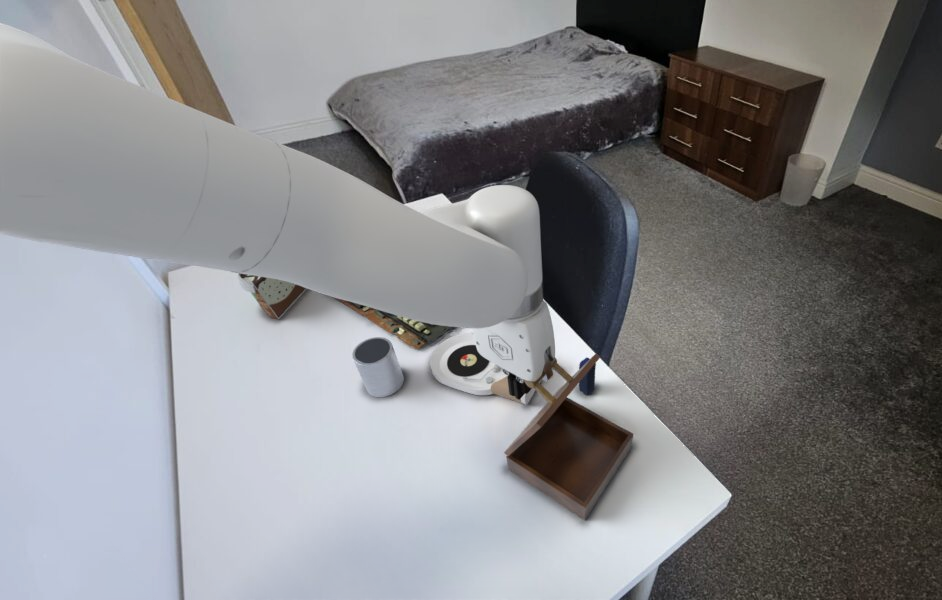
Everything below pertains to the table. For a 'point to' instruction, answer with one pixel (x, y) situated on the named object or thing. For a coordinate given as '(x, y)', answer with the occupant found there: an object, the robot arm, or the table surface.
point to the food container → (271, 293)
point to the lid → (550, 399)
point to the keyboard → (401, 325)
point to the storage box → (572, 456)
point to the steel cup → (378, 366)
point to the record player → (470, 369)
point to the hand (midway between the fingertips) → (521, 390)
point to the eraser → (587, 379)
